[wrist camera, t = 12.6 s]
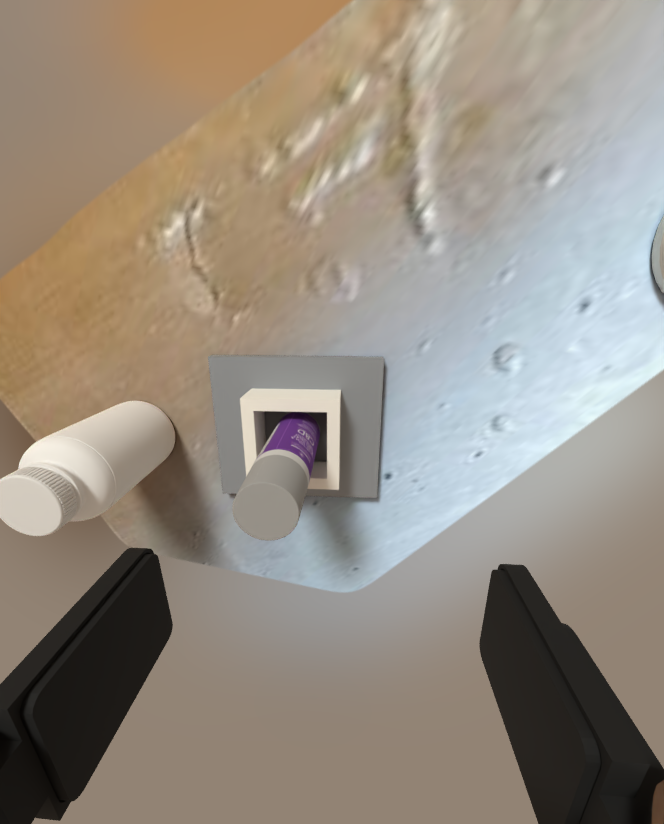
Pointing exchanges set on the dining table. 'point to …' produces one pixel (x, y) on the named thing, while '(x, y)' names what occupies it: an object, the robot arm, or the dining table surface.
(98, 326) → the dining table surface
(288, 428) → the container
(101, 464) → the pill bottle
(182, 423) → the dining table surface
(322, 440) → the square socket holder
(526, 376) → the dining table surface
